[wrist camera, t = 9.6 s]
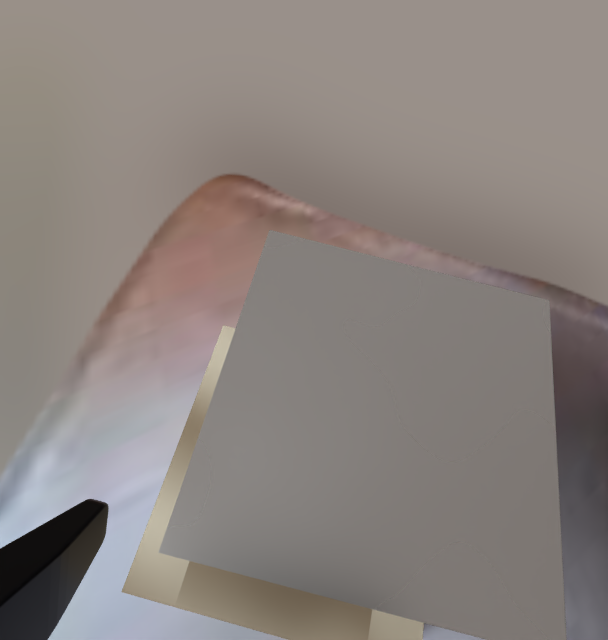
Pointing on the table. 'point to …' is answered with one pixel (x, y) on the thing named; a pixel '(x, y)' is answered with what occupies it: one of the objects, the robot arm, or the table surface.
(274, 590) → the socket block
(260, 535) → the steel bar
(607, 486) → the table surface
